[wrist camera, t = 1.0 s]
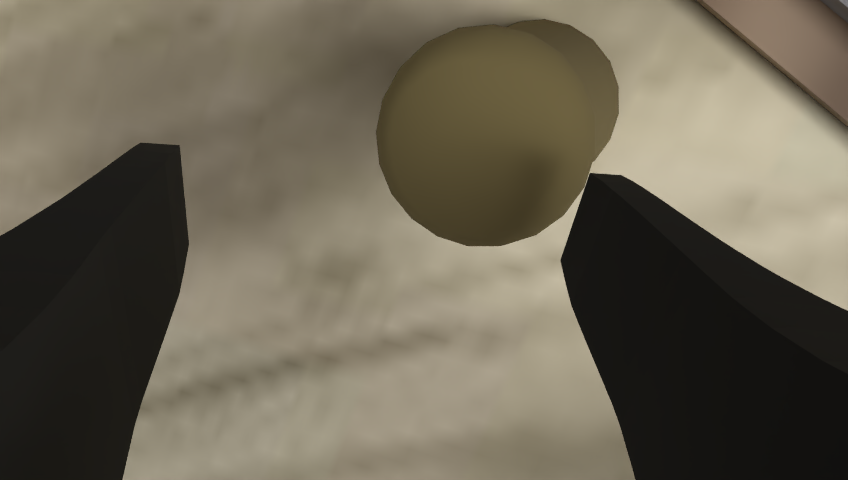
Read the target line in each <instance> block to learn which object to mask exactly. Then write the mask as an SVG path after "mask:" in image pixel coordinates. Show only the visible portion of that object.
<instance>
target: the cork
mask: <svg viewBox="0 0 848 480" xmlns="http://www.w3.org/2000/svg"><path fill="white" fill-rule="evenodd" d="M618 114H619V105H618V84H617V81H616V78H615V75H614V72H613V69H612V66H611V63H610V61H609V60H608V58H607V57H606V56H605V54H604V53H603V52H602V51H601V49H600V48H599V47H598V45H597V44H596V43H595V42H594V40H592V39H591V38H589V37H588V36H586V35H585V34H583V33H582V32H580V31H578V30H577V29H575V28H574V27H572V26H570V25H566V24H562V23H558V22H554V21H549V20H545V19H544V20H533V21H523V22H517V23H515V24H513V25H510V26H508V27H502V26H498V25H484V26H474V27H463V28H457V29H455V30H453V31H451V32H449V33H446V34H444V35H442V36H440V37H438V38H436V39H433V40H431V41H429V42H427V43H426V44H425V45H424V46H423V47H421V48H420V49H419V50H418V51H417V52H416V53H415V54H414V55H413V56H412V57H411V58H410V59H409V60H408V61H407V62H406V63H404V64H403V65H402V66H401V68H400V69H399V71H398V72H397V74H396V76H395V78H394V80H393V81H392V83H391V85H390V87H389V89H388V91H387V92H386V94H385V96H384V98H383V100H382V105H381V110H380V115H379V120H378V125H377V130H376V135H377V145H378V155H379V164H380V167H381V169H382V172H383V174H384V176H385V179H386V181H387V184H388V186H389V189H390V191H391V193H392V195H393V196H394V197H395V199H396V200H397V201H398V202H399V203H400V205H401V206H402V207H403V208H404V210H405V211H406V212H407V213H408V215H409V216H410V217H411V218H412V219H413V220H415V221H416V222H417V223H419V224H420V225H422V226H423V227H425V228H426V229H428V230H429V231H431V232H432V233H433V234H435V235H436V236H438V237H441V238H444V239H447V240H451V241H454V242H457V243H460V244H463V245H466V246H502V245H506V244H509V243H512V242H515V241H518V240H521V239H525V238H528V237H531V236H534V235H537V234H538V233H540V232H541V231H542V230H544V229H545V228H547V227H548V226H549V225H551V224H552V223H554V222H555V221H556V220H558V219H559V218H561V217H562V216H563V215H564V214H565V213H566V211H567V210H568V209H569V207H570V206H571V205H572V203H573V202H574V200H575V199H576V198H577V196H578V195H579V194H580V192H581V191H582V190H583V188H584V186H585V183H586V180H587V177H588V174H589V171H590V168H591V164H592V162H593V161H595V159H596V158H597V157H598V155H599V154H600V152H601V151H602V150H603V148H604V147H605V146H606V144H607V143H608V141H609V140H610V138H611V135H612V132H613V129H614V126H615V123H616V120H617V117H618Z"/></svg>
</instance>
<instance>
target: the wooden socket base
mask: <svg viewBox="0 0 848 480" xmlns="http://www.w3.org/2000/svg"><path fill="white" fill-rule="evenodd" d="M696 1H697V2H699V3H700V4H701V5H702V6H703V7H705V8H706V9H707V10H708V11H709V12H711V13H712V14H713V15H714V16H715V17H717V18H718V19H719V20H720V21H721V22H723V23H724V24H725V25H726V26H727V27H729V28H730V29H731V30H732V31H733V32H735V33H736V34H737V35H738V36H739V37H741V38H742V39H743V40H744V41H745V42H747V43H748V44H749V45H750V46H751V47H753V48H754V49H755V50H756V51H757V52H759V53H760V54H761V55H762V56H763V57H765V58H766V59H767V60H768V61H769V62H771V63H772V64H773V65H774V66H775V67H777V68H778V69H779V70H780V71H781V72H782V73H784V74H785V75H786V76H787V77H788V78H790V79H791V80H792V81H793V82H794V83H796V84H797V85H798V86H799V87H800V88H802V89H803V90H804V91H805V92H806V93H808V94H809V95H810V96H811V97H812V98H814V99H815V100H816V101H817V102H818V103H820V104H821V105H822V106H823V107H824V108H826V109H827V110H828V111H829V112H830V113H832V114H833V115H834V116H835V117H836V118H838V119H839V120H840V121H841V122H842V123H844V124H845V125H846V126H847V127H848V0H696Z"/></svg>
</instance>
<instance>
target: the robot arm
mask: <svg viewBox="0 0 848 480" xmlns="http://www.w3.org/2000/svg"><path fill="white" fill-rule="evenodd" d="M188 246H189V240H188V230H187V219H186V208H185V198H184V187H183V177H182V166H181V155H180V145H167V144H152V143H140V144H138V145H136V146H135V147H133V148H132V149H130V150H129V151H127V152H126V153H125V154H123V155H122V156H121V157H119V158H118V159H116V160H115V161H114V162H112V163H111V164H110V165H108V166H107V167H105V168H104V169H103V170H101V171H100V172H99V173H97V174H96V175H94V176H93V177H92V178H90V179H89V180H87V181H86V182H84V183H83V184H82V185H80V186H79V187H77V188H76V189H74V190H73V191H72V192H70V193H69V194H67V195H66V196H64V197H63V198H61V199H60V200H58V201H57V202H55V203H53V204H52V205H50V206H49V207H47V208H46V209H44V210H42V211H41V212H39V213H38V214H36V215H34V216H33V217H31V218H30V219H28V220H26V221H25V222H23V223H22V224H20V225H18V226H17V227H15V228H14V229H12V230H10V231H8V232H7V233H5V234H3V235H1V236H0V480H122V479H123V474H124V470H125V465H126V461H127V457H128V452H129V448H130V443H131V439H132V435H133V430H134V426H135V423H136V419H137V416H138V412H139V409H140V406H141V402H142V399H143V396H144V394H145V391H146V388H147V385H148V382H149V379H150V377H151V374H152V371H153V368H154V365H155V362H156V359H157V357H158V354H159V351H160V348H161V345H162V342H163V340H164V337H165V334H166V331H167V328H168V325H169V322H170V319H171V316H172V314H173V311H174V308H175V305H176V302H177V299H178V296H179V293H180V288H181V283H182V278H183V273H184V268H185V262H186V257H187V252H188ZM561 264H562V269H563V273H564V278H565V282H566V286H567V290H568V294H569V298H570V302H571V305H572V308H573V310H574V313H575V316H576V318H577V320H578V323H579V325H580V328H581V330H582V333H583V335H584V338H585V340H586V343H587V345H588V347H589V350H590V352H591V354H592V357H593V359H594V362H595V364H596V366H597V369H598V371H599V373H600V376H601V378H602V381H603V383H604V385H605V388H606V390H607V393H608V395H609V397H610V400H611V402H612V405H613V407H614V410H615V413H616V416H617V418H618V421H619V424H620V427H621V430H622V434H623V437H624V441H625V444H626V448H627V451H628V454H629V458H630V461H631V465H632V468H633V472H634V475H635V479H636V480H848V311H847V310H845V309H842V308H840V307H838V306H836V305H834V304H832V303H830V302H828V301H826V300H824V299H822V298H820V297H818V296H816V295H814V294H812V293H810V292H808V291H806V290H804V289H803V288H801V287H799V286H797V285H795V284H793V283H791V282H789V281H787V280H785V279H784V278H782V277H780V276H778V275H776V274H775V273H773V272H771V271H769V270H768V269H766V268H764V267H762V266H761V265H759V264H758V263H756V262H754V261H753V260H751V259H750V258H748V257H746V256H745V255H743V254H741V253H740V252H738V251H737V250H735V249H733V248H732V247H730V246H729V245H727V244H726V243H724V242H722V241H721V240H719V239H718V238H716V237H715V236H713V235H712V234H710V233H709V232H707V231H706V230H704V229H703V228H701V227H700V226H699V225H697V224H696V223H694V222H693V221H691V220H690V219H688V218H687V217H685V216H684V215H682V214H681V213H680V212H678V211H677V210H675V209H674V208H672V207H671V206H669V205H668V204H667V203H665V202H664V201H662V200H661V199H659V198H658V197H656V196H655V195H653V194H652V193H650V192H649V191H647V190H646V189H644V188H643V187H641V186H639V185H638V184H636V183H635V182H633V181H631V180H629V179H627V178H625V177H624V176H622V175H610V174H595V173H590V174H589V177H588V180H587V183H586V186H585V189H584V192H583V195H582V198H581V201H580V204H579V207H578V210H577V213H576V216H575V219H574V222H573V225H572V228H571V231H570V234H569V237H568V240H567V243H566V246H565V249H564V252H563V254H562V257H561Z"/></svg>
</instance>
